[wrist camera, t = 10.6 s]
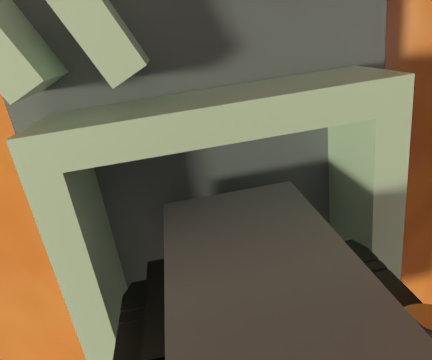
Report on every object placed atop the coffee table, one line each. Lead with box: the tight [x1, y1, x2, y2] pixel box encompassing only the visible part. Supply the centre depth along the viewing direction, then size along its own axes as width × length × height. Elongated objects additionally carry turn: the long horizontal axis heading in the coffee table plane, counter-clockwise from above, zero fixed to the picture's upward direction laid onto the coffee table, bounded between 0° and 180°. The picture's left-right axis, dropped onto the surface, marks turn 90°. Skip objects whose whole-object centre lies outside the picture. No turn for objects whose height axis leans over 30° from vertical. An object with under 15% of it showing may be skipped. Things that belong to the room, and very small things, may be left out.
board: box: [0, 0, 387, 288], centre depth 11 cm, size 12×19×4 cm, turn 9°
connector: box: [164, 181, 432, 360], centre depth 8 cm, size 4×4×9 cm
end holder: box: [6, 66, 415, 360], centre depth 12 cm, size 10×10×3 cm
